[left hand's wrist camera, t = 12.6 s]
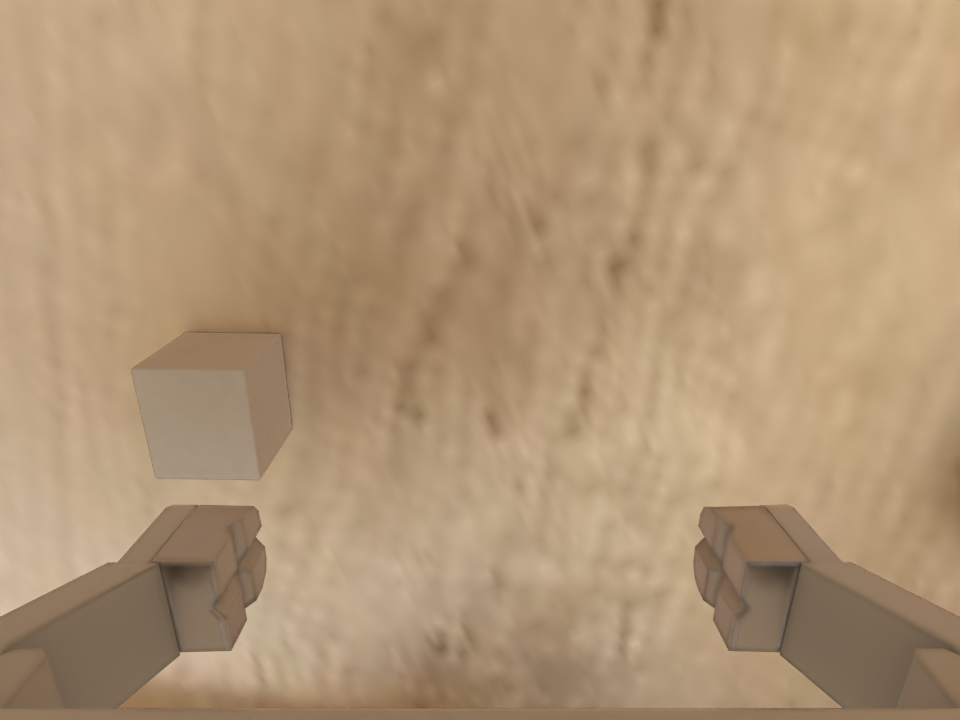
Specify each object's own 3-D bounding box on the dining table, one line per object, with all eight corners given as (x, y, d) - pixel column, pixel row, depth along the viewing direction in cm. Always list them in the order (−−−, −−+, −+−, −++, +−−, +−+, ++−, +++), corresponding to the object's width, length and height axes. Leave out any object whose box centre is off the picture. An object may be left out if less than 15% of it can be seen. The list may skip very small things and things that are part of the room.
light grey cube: (292, 429, 25) (260, 481, 22) (203, 428, 25) (154, 479, 22) (281, 333, 24) (243, 370, 20) (185, 331, 24) (129, 368, 20)
